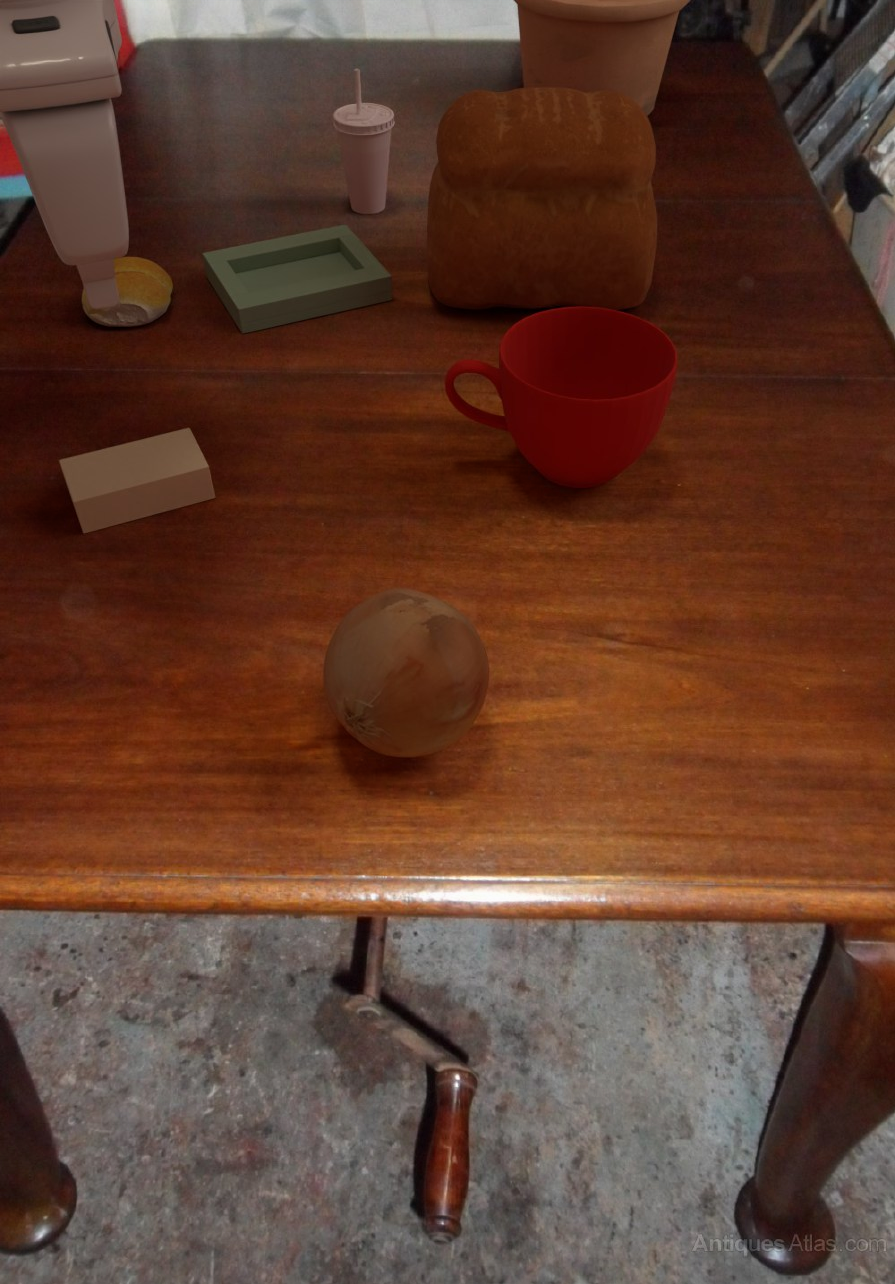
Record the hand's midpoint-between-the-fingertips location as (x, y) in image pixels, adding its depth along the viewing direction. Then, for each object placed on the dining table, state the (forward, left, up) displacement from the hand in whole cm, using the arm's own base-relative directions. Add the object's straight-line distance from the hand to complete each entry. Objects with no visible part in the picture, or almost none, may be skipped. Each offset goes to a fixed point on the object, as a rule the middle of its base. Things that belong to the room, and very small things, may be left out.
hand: (92, 266), depth 65 cm
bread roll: (+6, +32, -20) cm, 38 cm away
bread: (+43, +20, -20) cm, 52 cm away
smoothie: (+34, +42, -20) cm, 58 cm away
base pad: (+21, +28, -20) cm, 41 cm away
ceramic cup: (+30, -7, -20) cm, 37 cm away
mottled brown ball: (+9, -27, -20) cm, 34 cm away
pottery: (+71, +58, -20) cm, 94 cm away
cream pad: (0, +3, -20) cm, 20 cm away
